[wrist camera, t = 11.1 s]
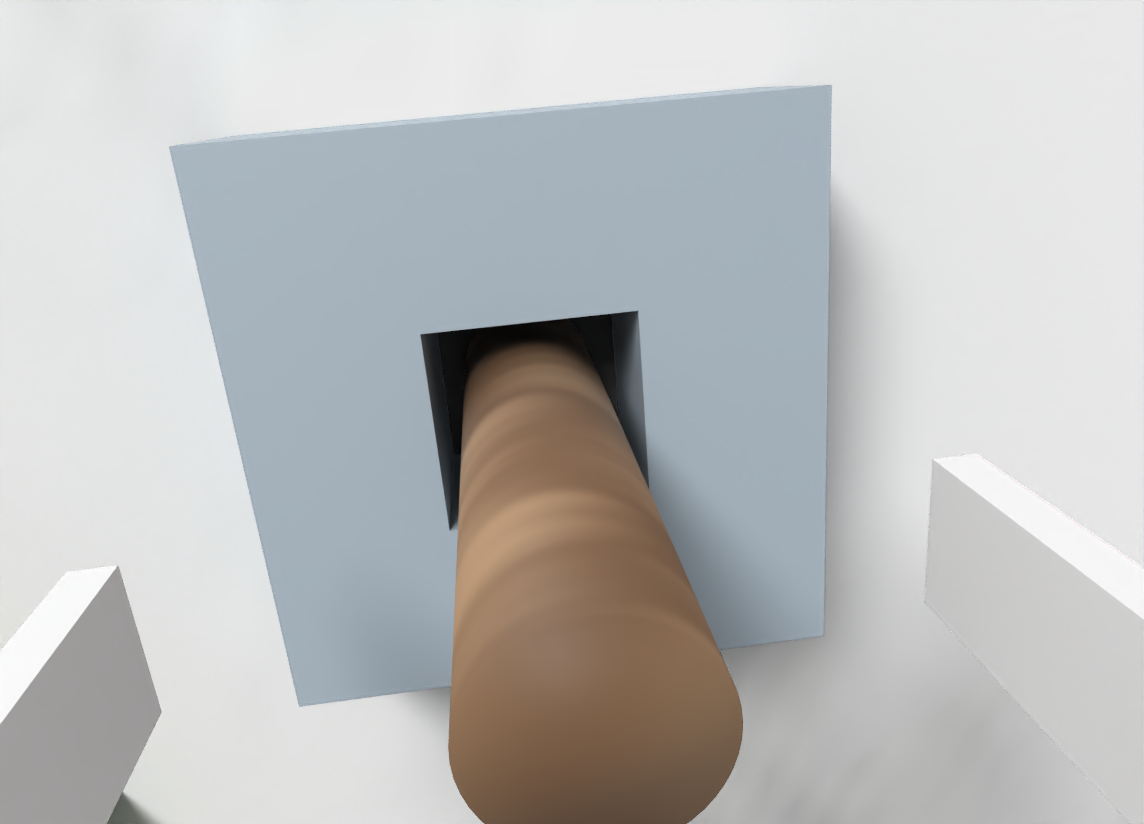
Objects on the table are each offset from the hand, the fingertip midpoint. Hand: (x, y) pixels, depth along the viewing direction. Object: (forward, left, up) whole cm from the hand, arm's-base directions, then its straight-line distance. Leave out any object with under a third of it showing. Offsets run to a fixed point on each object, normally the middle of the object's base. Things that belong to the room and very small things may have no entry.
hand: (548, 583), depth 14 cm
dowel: (0, 0, -12) cm, 12 cm away
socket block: (0, 0, -12) cm, 12 cm away
